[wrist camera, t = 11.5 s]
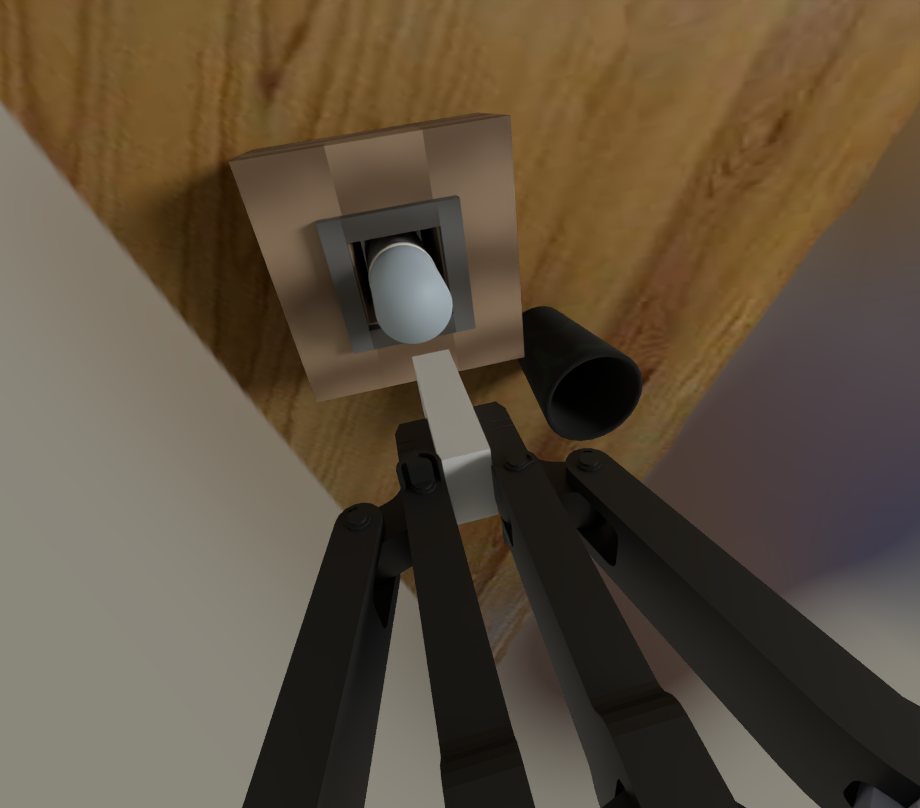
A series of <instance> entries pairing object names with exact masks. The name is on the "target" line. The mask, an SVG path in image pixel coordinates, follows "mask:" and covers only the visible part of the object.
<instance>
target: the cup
mask: <svg viewBox="0 0 920 808" xmlns="http://www.w3.org/2000/svg"><path fill="white" fill-rule="evenodd" d="M522 323H523V340H524V357H522V358H518V361H519V363H520V365H521V367H522V370H523V372H524V374H525V376H526V378H527V380H528V382H529V384H530V387H531V389H532V391H533V393H534V395H535V397H536V399H537V401H538V403H539V406H540V408H541V410H542V412H543V414H544V416H545V418H546V420H547V422H548V424H549V426H550V427H551V428H552V430H553V431H554V432H555V433H557V434H558V435H559V436H561V437H563V438H566V439H569V440H577V441H583V440H591V439H595V438H598V437H601V436H604V435H605V434H607V433H609V432H611V431H613V430H614V429H616V428H617V427H618V426H620V425H621V424H622V423H623V422H624V421H625V420H626V419H627V418H628V417H629V416H630V415H631V413H632V412H633V410H634V409H635V407H636V405H637V404H638V401H639V398H640V396H641V392H642V384H643V382H642V376H641V372H640V370H639V368H638V366H637V364H636V363H635V362H634V361H633V360H632V359H631V358H629V357H628V356H626V355H625V354H623V353H622V352H620V351H619V350H617V349H616V348H614V347H612V346H611V345H609V344H608V343H606V342H605V341H603V340H602V339H600V338H599V337H597V336H596V335H594V334H593V333H591V332H589V331H588V330H586V329H585V328H583V327H582V326H580V325H579V324H577V323H576V322H574V321H573V320H571V319H570V318H568V317H566V316H565V315H563V314H562V313H560V312H559V311H557V310H555V309H553V308H551V307H546V306H542V307H536V308H532V309H530V310H528V311H526V312H525V313H523V314H522Z"/></svg>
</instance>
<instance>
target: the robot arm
mask: <svg viewBox="0 0 920 808" xmlns="http://www.w3.org/2000/svg"><path fill="white" fill-rule="evenodd" d="M412 360H413V364H414V369H415V374H416V378H417V383H418V388H419V392H420V397H421V402H422V406H423V411H424V415H425V419H421V420H416V421H412V422H408V423H403V424H399V427H398V429H397V431H396V433H395V437H396V444H397V451H398V457H399V462H398V464H397V467H396V472H397V476H398V479H399V483H400V487H401V489H400V491H399V493H398V494H397V495H396V496H395V497H394V498H393V499H392V500H391V501H389V502H387V503H386V504H384V505H382V506H380V507H377V506H375V505H373V504H371V503H360V504H355V505H353V506H351V507H349V508H347V509H345V510H344V511H343V512H342V513H341V514H340V515H339V516H338V518H337V520H336V522H335V524H334V528H333V531H332V534H331V537H330V540H329V543H328V546H327V549H326V552H325V555H324V558H323V561H322V564H321V567H320V571H319V574H318V577H317V580H316V583H315V586H314V589H313V592H312V595H311V598H310V601H309V604H308V608H307V610H306V614H305V617H304V620H303V623H302V626H301V629H300V632H299V635H298V638H297V641H296V644H295V647H294V651H293V653H292V656H291V660H290V663H289V666H288V669H287V673H286V675H285V678H284V681H283V684H282V687H281V690H280V693H279V696H278V700H277V702H276V706H275V709H274V712H273V715H272V718H271V721H270V724H269V727H268V730H267V733H266V736H265V739H264V743H263V746H262V749H261V752H260V755H259V758H258V761H257V764H256V767H255V770H254V773H253V776H252V779H251V782H250V785H249V788H248V792H247V795H246V798H245V801H244V804H243V807H242V808H364V805H365V799H366V792H367V786H368V780H369V773H370V767H371V761H372V754H373V748H374V742H375V735H376V729H377V722H378V715H379V710H380V703H381V697H382V691H383V684H384V678H385V671H386V665H387V659H388V652H389V646H390V640H391V633H392V627H393V621H394V615H395V608H396V602H397V596H398V589H399V583H400V573H401V572H403V571H405V570H407V569H408V568H410V567H412V566H413V570H414V577H415V584H416V590H417V597H418V604H419V610H420V617H421V624H422V631H423V638H424V644H425V651H426V658H427V665H428V671H429V678H430V684H431V692H432V698H433V705H434V711H435V718H436V725H437V732H438V739H439V746H440V754H441V762H440V769H441V780H442V787H443V794H444V802H445V808H535V805H534V801H533V798H532V794H531V790H530V787H529V783H528V779H527V776H526V772H525V768H524V764H523V761H522V758H521V754H520V751H519V748H518V745H517V741H516V739H515V736H514V733H513V730H512V726H511V722H510V719H509V715H508V711H507V707H506V704H505V700H504V697H503V693H502V689H501V685H500V681H499V678H498V674H497V670H496V666H495V663H494V659H493V655H492V652H491V648H490V644H489V640H488V637H487V633H486V629H485V626H484V622H483V618H482V614H481V611H480V607H479V603H478V599H477V596H476V592H475V588H474V585H473V581H472V577H471V573H470V570H469V566H468V562H467V559H466V555H465V551H464V547H463V544H462V540H461V536H460V532H459V529H458V524H462V523H466V522H470V521H474V520H478V519H482V518H486V517H490V516H494V515H498V509H499V512H500V514H501V520H502V528H503V537H504V544H505V543H508V544H509V547H510V550H511V552H512V555H513V558H514V561H515V563H516V566H517V569H518V572H519V574H520V577H521V580H522V583H523V585H524V588H525V591H526V593H527V596H528V599H529V602H530V604H531V607H532V610H533V613H534V615H535V618H536V621H537V624H538V626H539V629H540V632H541V634H542V637H543V640H544V643H545V646H546V648H547V651H548V654H549V656H550V659H551V662H552V665H553V667H554V670H555V673H556V676H557V678H558V681H559V684H560V687H561V689H562V692H563V695H564V697H565V700H566V703H567V706H568V708H569V711H570V714H571V717H572V719H573V722H574V725H575V728H576V730H577V733H578V736H579V739H580V741H581V744H582V747H583V750H584V752H585V755H586V758H587V761H588V764H589V767H590V770H591V775H592V779H593V784H594V788H595V791H596V795H597V799H598V802H599V805H600V808H745V807H744V806H742V805H741V804H739V803H737V802H736V801H735V800H734V798H733V796H732V794H731V792H730V791H729V789H728V787H727V785H726V784H725V782H724V780H723V778H722V776H721V775H720V773H719V771H718V769H717V767H716V765H715V764H714V762H713V760H712V758H711V756H710V755H709V753H708V751H707V749H706V747H705V746H704V744H703V742H702V740H701V738H700V737H699V735H698V733H697V731H696V730H695V728H694V726H693V724H692V722H691V720H690V719H689V717H688V715H687V713H686V712H685V710H684V709H683V707H682V706H681V704H680V703H679V701H678V700H677V699H676V698H675V697H674V696H673V695H672V694H670V693H668V692H665V691H664V690H663V689H662V688H661V687H660V685H659V684H658V682H657V680H656V678H655V676H654V674H653V673H652V671H651V669H650V667H649V665H648V663H647V661H646V660H645V658H644V656H643V654H642V652H641V650H640V648H639V646H638V645H637V643H636V641H635V639H634V637H633V635H632V634H631V632H630V630H629V628H628V626H627V624H626V622H625V620H624V618H623V617H622V615H621V613H620V611H619V609H618V608H617V605H616V604H615V602H614V600H613V598H612V596H611V594H610V592H609V590H608V589H607V587H606V585H605V583H604V581H603V579H602V577H601V576H600V574H599V572H598V570H597V568H596V566H595V564H594V563H593V561H592V559H591V557H592V558H593V559H594V560H595V561H596V562H597V563H598V564H599V566H600V567H601V568H602V569H603V570H604V571H605V572H606V573H607V575H608V576H609V577H610V578H611V579H612V580H613V581H614V582H615V583H616V584H617V586H618V587H619V588H620V589H621V590H622V591H623V592H624V594H625V595H626V596H627V597H628V598H629V599H630V600H631V601H632V602H633V603H634V605H635V606H636V607H637V608H638V609H639V610H640V611H641V613H642V614H643V615H644V616H645V617H646V618H647V619H648V620H649V621H650V622H651V624H652V625H653V626H654V627H655V628H656V629H657V630H658V631H659V633H660V634H661V635H662V636H663V637H664V638H665V639H666V640H667V642H668V643H669V644H670V645H671V646H672V647H673V648H674V649H675V650H676V652H677V653H678V654H679V655H680V656H681V657H682V658H683V659H684V661H685V662H687V664H688V665H689V666H690V667H691V668H692V669H693V671H695V673H696V674H697V675H698V676H699V677H700V678H701V680H702V681H703V682H704V683H705V684H706V685H707V686H708V687H709V688H710V690H711V691H712V692H713V693H714V694H715V695H716V696H717V697H718V699H720V701H721V702H722V703H723V704H724V705H725V706H726V707H727V709H728V710H729V711H730V712H731V713H732V714H733V715H734V716H735V717H736V718H737V720H738V721H739V722H740V723H741V724H742V725H743V726H744V728H745V729H746V730H747V731H748V732H749V733H750V734H751V735H752V736H753V737H754V739H755V740H756V741H757V742H758V743H759V744H760V745H761V746H762V748H763V749H764V750H765V751H766V752H767V753H768V754H769V755H770V757H771V758H772V759H773V760H774V761H775V762H776V763H777V764H778V766H779V767H780V768H781V769H782V770H783V771H784V772H785V773H786V774H787V775H788V776H789V777H790V778H791V779H792V780H793V781H794V782H795V783H796V784H797V785H798V786H799V787H800V788H801V789H802V790H803V792H805V794H807V795H808V796H809V797H810V798H811V799H812V800H813V801H814V802H815V803H816V804H818V805H819V806H820V807H821V808H920V706H918V705H916V704H915V703H913V702H911V701H909V700H907V699H906V698H904V697H902V696H901V695H900V694H899V693H897V692H896V691H895V690H894V689H893V688H891V687H890V686H889V685H887V684H886V683H885V682H884V681H883V680H882V679H880V678H879V677H878V676H877V675H875V674H874V673H873V672H872V671H871V670H869V669H868V668H867V667H866V666H864V665H863V664H862V663H861V662H860V661H858V660H857V659H856V658H855V657H853V656H852V655H851V654H850V653H849V652H847V651H846V650H845V649H844V648H843V647H841V646H840V645H839V644H838V643H836V642H835V641H834V640H833V639H832V638H830V637H829V636H828V635H826V634H825V633H824V632H823V631H822V630H821V629H819V628H818V627H817V626H816V625H814V624H813V623H812V622H811V621H810V620H808V619H807V618H806V617H805V616H803V615H802V614H801V613H800V612H798V611H797V610H796V609H795V608H794V607H792V606H791V605H790V604H789V603H788V602H786V601H785V600H784V599H783V598H782V597H780V596H779V595H778V594H777V593H775V592H774V591H773V590H772V589H771V588H769V587H768V586H767V585H766V584H764V583H763V582H762V581H761V580H759V579H758V578H757V577H756V576H755V575H753V574H752V573H751V572H749V571H748V570H747V569H746V568H745V567H744V566H742V565H741V564H740V563H739V562H738V561H736V560H735V559H734V558H733V557H731V556H730V555H729V554H728V553H727V552H725V551H724V550H723V549H722V548H720V547H719V546H718V545H717V544H715V543H714V542H713V541H712V540H711V539H709V538H708V537H707V536H706V535H705V534H703V533H702V532H701V531H700V530H698V529H697V528H696V527H695V526H694V525H692V524H691V523H690V522H689V521H688V520H686V519H685V518H684V517H683V516H681V515H680V514H679V513H678V512H677V511H675V510H674V509H673V508H672V507H670V506H669V505H668V504H667V503H666V502H664V501H663V500H662V499H661V498H659V497H658V496H657V495H656V494H655V493H653V492H652V491H651V490H650V489H648V488H647V487H646V486H645V485H644V484H642V483H641V482H640V481H639V480H638V479H636V478H635V477H634V476H633V475H631V474H630V473H629V472H628V471H627V470H625V469H624V468H623V467H622V466H620V465H619V464H618V463H617V462H616V461H614V460H613V459H612V458H611V457H609V456H608V455H607V454H605V453H604V452H602V451H600V450H596V449H592V448H582V449H579V450H575V451H573V452H572V453H570V454H569V455H568V457H567V459H566V462H550V461H543V460H540V459H538V458H537V457H536V456H535V455H534V454H533V453H531V452H529V451H528V450H527V449H526V447H525V445H524V443H523V441H522V439H521V437H520V435H519V433H518V432H517V430H516V428H515V426H514V424H513V422H512V420H511V418H510V416H509V414H508V412H507V411H506V409H505V408H504V407H503V406H501V405H500V404H498V403H497V402H491V403H487V404H483V405H478V406H474V407H473V406H472V404H471V402H470V399H469V397H468V394H467V392H466V390H465V387H464V385H463V382H462V380H461V378H460V375H459V373H458V371H457V368H456V366H455V363H454V361H453V359H452V356H451V354H450V351H449V349H447V350H442V351H437V352H433V353H428V354H423V355H419V356H414V357H412ZM497 506H498V509H497ZM589 554H590V555H591V557H590V555H589Z"/></svg>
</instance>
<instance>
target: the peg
mask: <svg viewBox="0 0 920 808" xmlns="http://www.w3.org/2000/svg"><path fill="white" fill-rule="evenodd" d="M365 257H366V262H367V268H368V278H369V284H370V288H371V291H372V297H373V303H374V308H375V314H376V318H377V321H378V323H379V325H380V327H381V328H382V330H383V331H384V332H385V333H386V334H387V335H388V336H390V337H391V338H393V339H395V340H397V341H399V342H402V343H407V344H418V343H423V342H426V341H429V340H431V339H433V338H434V337H436V336H437V335H439V334H440V333H441V332H442V331H443V330H444V328H445V327H446V326H447V324H448V322H449V320H450V317H451V314H452V307H453V305H452V297H451V294H450V291H449V289H448V287H447V286H446V284H445V282H444V280H443V279H442V277H441V275H440V273H439V272H438V270H437V268H436V266H435V263H434V262H433V260H432V258H431V256H430V255H429V254H428V252H427V251H426V249H425V247H424V246H423V244H422V242H421V240H420V239H419V237H418V235H417V234H416V232H415V231H411V232H406V233H401V234H395V235H390V236H385V237H379V238H374V239H369V240H366V242H365Z"/></svg>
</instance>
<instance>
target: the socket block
mask: <svg viewBox="0 0 920 808" xmlns="http://www.w3.org/2000/svg"><path fill="white" fill-rule="evenodd" d="M229 164H230V167H231V170H232V172H233V175H234V178H235V181H236V183H237V186H238V189H239V191H240V194H241V197H242V200H243V202H244V205H245V208H246V211H247V213H248V216H249V219H250V221H251V224H252V227H253V230H254V232H255V235H256V238H257V241H258V243H259V246H260V249H261V251H262V254H263V257H264V260H265V262H266V265H267V268H268V271H269V273H270V276H271V279H272V281H273V284H274V287H275V290H276V292H277V295H278V298H279V301H280V303H281V306H282V309H283V311H284V314H285V317H286V320H287V322H288V325H289V328H290V331H291V333H292V336H293V339H294V341H295V344H296V347H297V350H298V352H299V355H300V358H301V361H302V363H303V366H304V369H305V371H306V374H307V377H308V380H309V382H310V385H311V388H312V391H313V393H314V396H315V399H316V401H317V402H321V401H326V400H330V399H335V398H339V397H344V396H349V395H353V394H358V393H362V392H367V391H371V390H376V389H381V388H385V387H390V386H394V385H399V384H403V383H408V382H413V381H417V378H416V374H415V369H414V364H413V360H412V357H414V356H419V355H423V354H428V353H433V352H437V351H442V350H447V349H449V351H450V354H451V356H452V359H453V361H454V363H455V366H456V368H457V371H463V370H468V369H472V368H477V367H481V366H486V365H490V364H495V363H500V362H504V361H509V360H513V359H518V358H522V357H524V340H523V323H522V306H521V289H520V272H519V255H518V238H517V222H516V205H515V188H514V171H513V154H512V137H511V120H510V115H500V114H487V113H474V114H468V115H462V116H456V117H450V118H443V119H437V120H431V121H425V122H419V123H413V124H407V125H401V126H395V127H389V128H383V129H376V130H370V131H364V132H358V133H352V134H346V135H340V136H334V137H328V138H322V139H316V140H309V141H303V142H297V143H291V144H285V145H279V146H273V147H267V148H261V149H255V150H251V151H249V152H247V153H245V154H244V155H242V156H240V157H238V158H236V159H234V160H232V161H230V162H229ZM422 229H425V235H426V241H427V247H428V253H429V255H430V256H431V258H432V260H433V262H434V263H435V266H436V268H437V270H438V272H439V273H440V275H441V277H442V279H443V280H444V282H445V284H446V286H447V287H448V289H449V291H450V294H451V297H452V305H453V307H452V314H451V317H450V320H449V322H448V324H447V326H446V327H445V328H444V330H443V331H442V332H441V333H440V334H439V335H437V336H436V337H434V338H433V339H431V340H429V341H426V342H423V343H418V344H407V343H402V342H399V341H397V340H395V339H393V338H391V337H390V336H388V335H387V334H386V333H385V332H384V331H383V330H382V328H381V327H380V325H379V323H378V321H377V318H376V314H375V308H374V303H373V297H372V291H371V288H370V285H368V286H366V285H365V281H364V277H363V273H362V269H361V265H360V261H359V257H358V253H357V249H356V245H355V242H358V241H363V240H369V239H374V238H379V237H385V236H390V235H395V234H401V233H406V232H411V231H417V230H422Z"/></svg>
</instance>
